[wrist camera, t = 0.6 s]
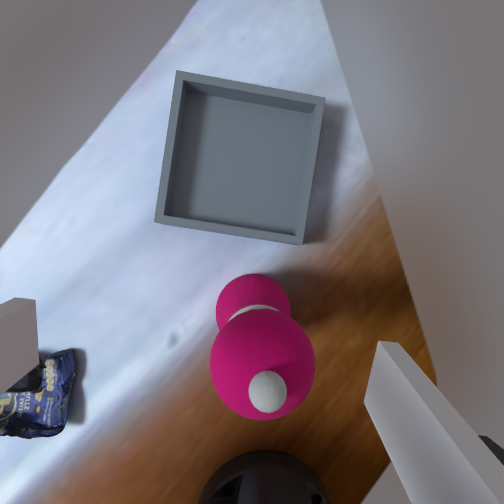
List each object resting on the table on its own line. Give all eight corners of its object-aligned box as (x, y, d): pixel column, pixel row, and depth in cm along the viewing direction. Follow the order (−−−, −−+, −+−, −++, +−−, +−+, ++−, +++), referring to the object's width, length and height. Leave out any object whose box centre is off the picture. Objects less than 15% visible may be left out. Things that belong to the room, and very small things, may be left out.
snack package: (7, 307, 32) (-55, 399, 32) (-37, 327, 26) (-115, 442, 25) (109, 356, 35) (54, 442, 34) (92, 386, 28) (24, 491, 28)
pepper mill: (278, 264, 33) (338, 306, 13) (288, 327, 33) (361, 464, 13) (213, 275, 32) (172, 335, 13) (224, 338, 33) (201, 495, 13)
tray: (296, 244, 33) (302, 245, 30) (161, 224, 32) (154, 221, 29) (317, 111, 33) (325, 97, 30) (182, 86, 32) (176, 70, 29)
